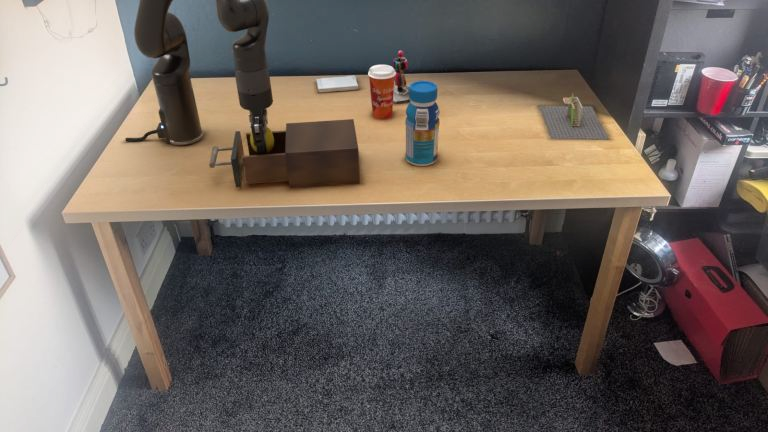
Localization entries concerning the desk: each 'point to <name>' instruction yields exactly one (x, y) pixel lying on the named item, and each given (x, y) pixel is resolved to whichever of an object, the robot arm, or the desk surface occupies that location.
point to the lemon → (268, 140)
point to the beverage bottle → (422, 124)
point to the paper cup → (382, 90)
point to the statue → (400, 80)
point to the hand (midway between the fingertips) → (263, 150)
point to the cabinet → (322, 153)
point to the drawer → (255, 161)
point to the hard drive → (337, 84)
